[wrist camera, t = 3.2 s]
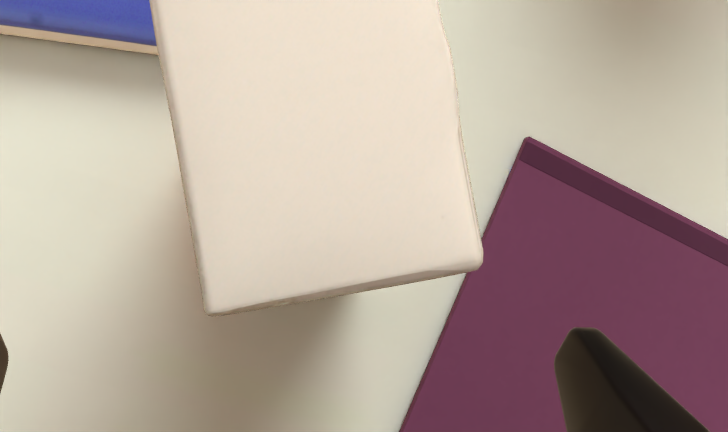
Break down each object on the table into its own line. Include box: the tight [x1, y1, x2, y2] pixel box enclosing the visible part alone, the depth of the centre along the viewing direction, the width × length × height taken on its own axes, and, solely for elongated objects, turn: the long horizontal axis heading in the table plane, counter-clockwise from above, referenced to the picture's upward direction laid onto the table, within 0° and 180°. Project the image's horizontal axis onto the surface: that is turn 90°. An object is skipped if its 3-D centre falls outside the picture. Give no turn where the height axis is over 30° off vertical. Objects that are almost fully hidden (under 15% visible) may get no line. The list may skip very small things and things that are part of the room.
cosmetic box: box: [149, 0, 483, 316], centre depth 14 cm, size 6×4×12 cm
